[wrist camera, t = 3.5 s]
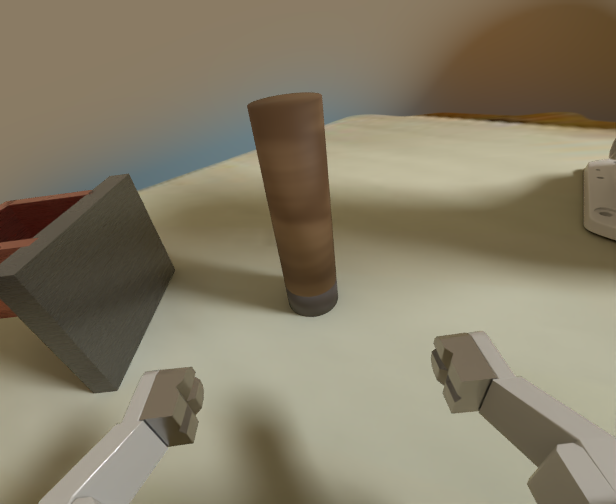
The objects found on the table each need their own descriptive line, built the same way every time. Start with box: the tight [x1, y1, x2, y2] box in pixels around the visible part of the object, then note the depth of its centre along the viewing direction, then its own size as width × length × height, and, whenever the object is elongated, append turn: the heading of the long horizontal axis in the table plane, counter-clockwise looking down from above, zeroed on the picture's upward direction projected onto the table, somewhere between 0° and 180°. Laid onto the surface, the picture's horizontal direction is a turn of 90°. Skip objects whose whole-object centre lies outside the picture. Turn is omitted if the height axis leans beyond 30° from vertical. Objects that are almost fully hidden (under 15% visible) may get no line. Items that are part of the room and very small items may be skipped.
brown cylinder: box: [247, 93, 338, 317], centre depth 19 cm, size 4×4×14 cm
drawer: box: [0, 174, 175, 393], centre depth 21 cm, size 12×8×10 cm, turn 3°
